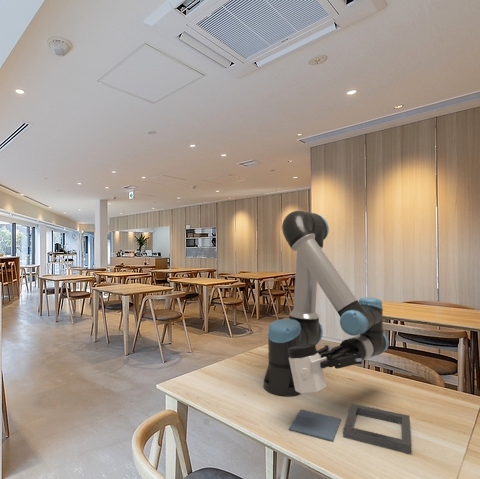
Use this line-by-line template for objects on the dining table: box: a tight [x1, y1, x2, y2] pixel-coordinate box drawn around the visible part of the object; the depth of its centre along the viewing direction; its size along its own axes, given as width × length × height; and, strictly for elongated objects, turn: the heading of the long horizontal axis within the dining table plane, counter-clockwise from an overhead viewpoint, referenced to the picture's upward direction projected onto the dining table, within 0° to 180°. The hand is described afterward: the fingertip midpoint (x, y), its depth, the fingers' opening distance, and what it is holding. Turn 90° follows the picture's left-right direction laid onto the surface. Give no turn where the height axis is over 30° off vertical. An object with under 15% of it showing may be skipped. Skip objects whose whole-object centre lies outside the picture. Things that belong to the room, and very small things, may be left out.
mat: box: [288, 409, 342, 443], centre depth 90 cm, size 12×12×1 cm
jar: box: [288, 344, 327, 395], centre depth 92 cm, size 9×8×12 cm
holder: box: [342, 403, 412, 455], centre depth 88 cm, size 16×16×2 cm
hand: (308, 365), depth 88 cm, fingers closed on jar, 1 cm apart
